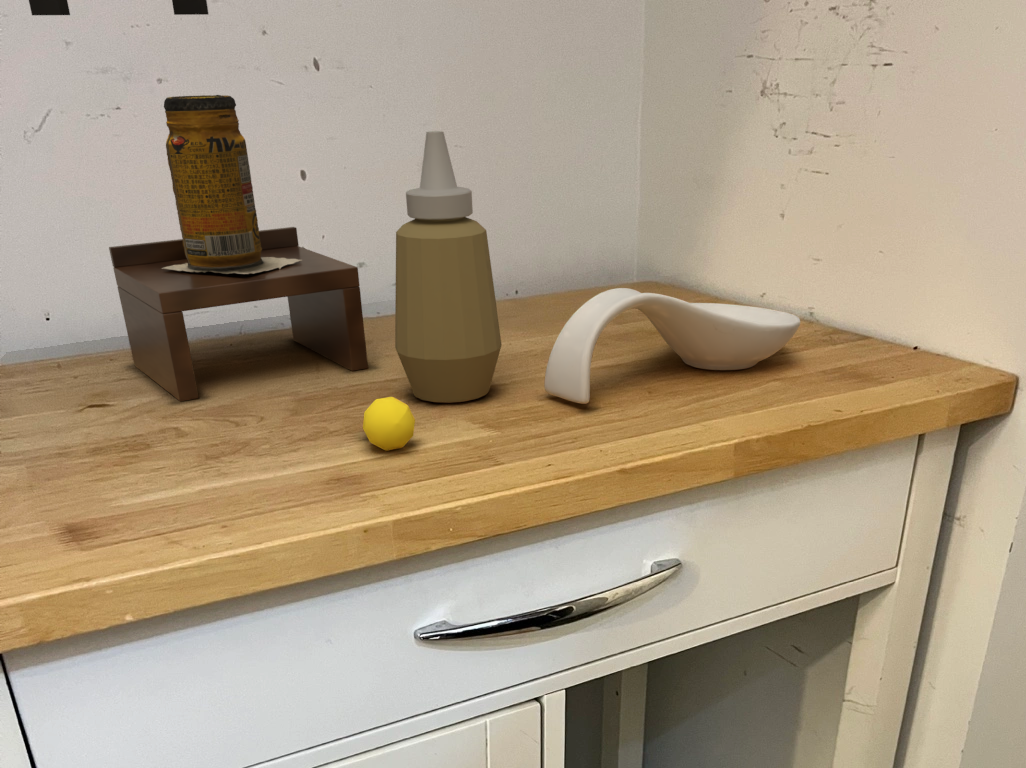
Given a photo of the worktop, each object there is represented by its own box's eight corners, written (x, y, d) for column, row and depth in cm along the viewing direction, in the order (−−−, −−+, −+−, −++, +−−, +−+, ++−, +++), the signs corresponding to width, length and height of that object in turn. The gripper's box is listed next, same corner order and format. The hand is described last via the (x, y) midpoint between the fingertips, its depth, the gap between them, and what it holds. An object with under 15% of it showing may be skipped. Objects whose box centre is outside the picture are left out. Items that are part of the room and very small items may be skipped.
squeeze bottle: (418, 415, 80) (395, 139, 70) (386, 387, 86) (361, 130, 77) (519, 400, 83) (511, 132, 73) (481, 374, 89) (469, 124, 79)
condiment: (222, 255, 93) (195, 93, 86) (303, 262, 89) (281, 93, 83) (161, 271, 87) (127, 99, 81) (245, 278, 84) (217, 99, 77)
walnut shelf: (180, 401, 84) (154, 271, 79) (134, 365, 94) (108, 247, 89) (368, 368, 92) (356, 246, 86) (308, 338, 101) (294, 226, 96)
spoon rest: (718, 337, 98) (724, 251, 94) (825, 361, 91) (836, 269, 87) (515, 388, 85) (512, 292, 82) (619, 422, 78) (621, 318, 74)
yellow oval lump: (387, 460, 72) (362, 410, 71) (362, 459, 77) (338, 412, 76) (430, 436, 73) (406, 386, 71) (402, 436, 78) (379, 390, 77)
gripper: (-87, -483, 55) (23, 15, 67) (235, -359, 74) (277, 14, 86) (-183, -458, 58) (-61, 15, 70) (151, -344, 77) (203, 14, 88)
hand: (125, 15), depth 78 cm, fingers open, 13 cm apart
